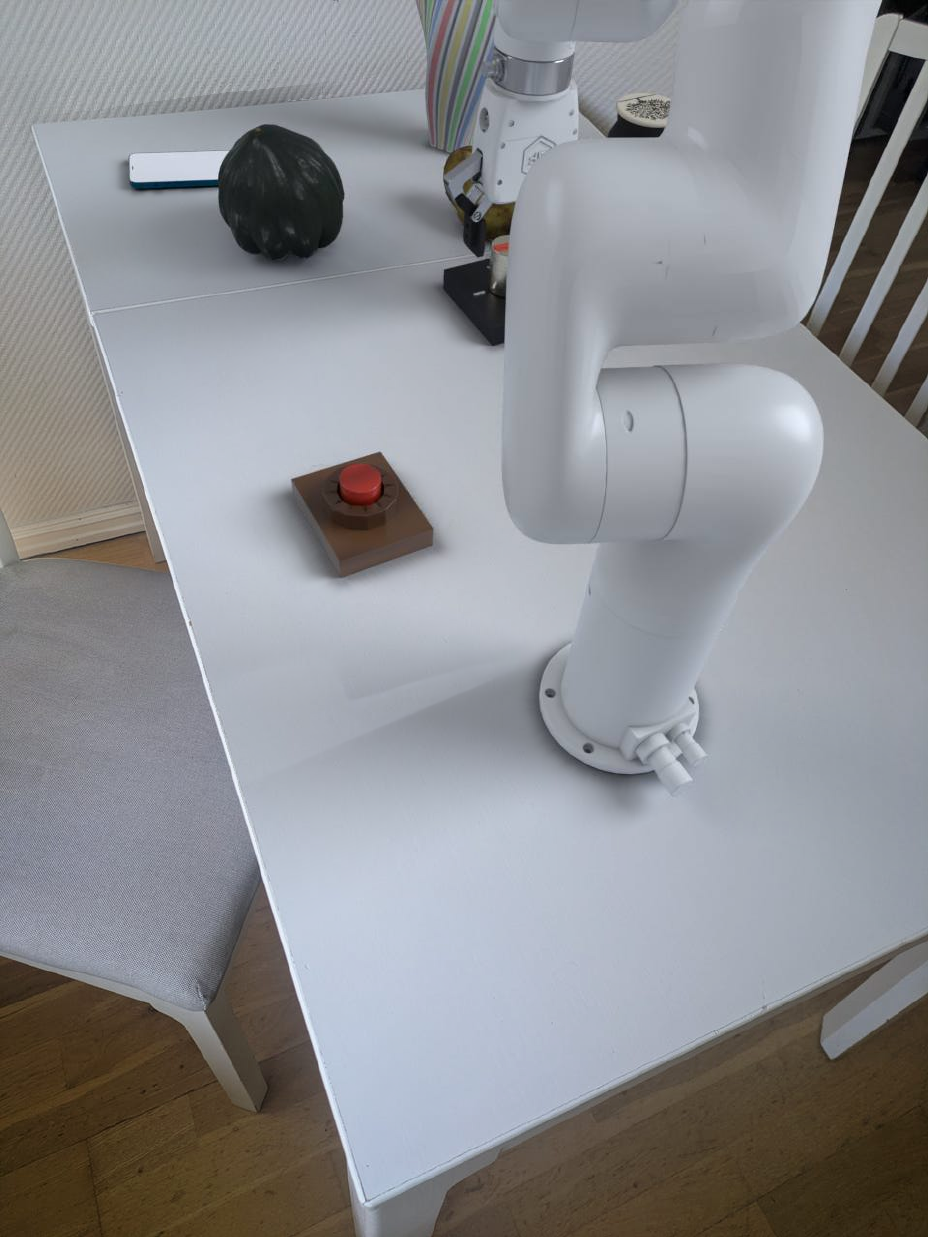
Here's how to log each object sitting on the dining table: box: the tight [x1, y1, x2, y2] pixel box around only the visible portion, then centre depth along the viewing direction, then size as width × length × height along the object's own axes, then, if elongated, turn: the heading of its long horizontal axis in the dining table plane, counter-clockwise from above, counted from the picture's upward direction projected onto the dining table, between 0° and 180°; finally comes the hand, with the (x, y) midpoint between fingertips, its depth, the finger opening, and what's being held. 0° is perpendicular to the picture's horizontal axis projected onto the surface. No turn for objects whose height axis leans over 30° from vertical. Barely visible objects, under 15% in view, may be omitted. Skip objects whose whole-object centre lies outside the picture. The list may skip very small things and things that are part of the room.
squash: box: [217, 123, 346, 261], centre depth 105 cm, size 14×15×15 cm
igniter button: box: [339, 464, 381, 506], centre depth 79 cm, size 4×4×2 cm
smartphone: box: [128, 149, 231, 189], centre depth 118 cm, size 8×1×16 cm
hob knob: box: [488, 235, 510, 297], centre depth 101 cm, size 4×4×5 cm
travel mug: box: [607, 92, 671, 138], centre depth 105 cm, size 8×8×18 cm
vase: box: [415, 0, 496, 154], centre depth 116 cm, size 14×14×30 cm
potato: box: [442, 146, 516, 241], centre depth 112 cm, size 8×13×8 cm, turn 15°
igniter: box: [290, 451, 435, 578], centre depth 81 cm, size 11×9×4 cm
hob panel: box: [442, 257, 506, 347], centre depth 104 cm, size 12×10×3 cm
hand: (513, 241), depth 98 cm, fingers open, 9 cm apart
